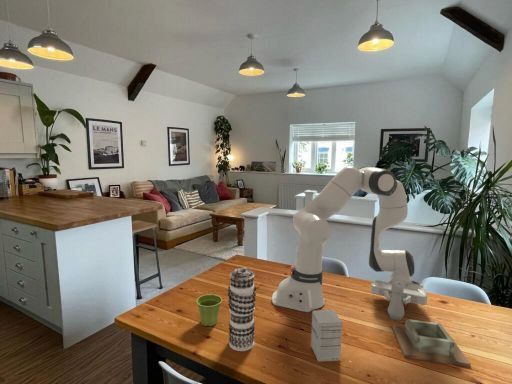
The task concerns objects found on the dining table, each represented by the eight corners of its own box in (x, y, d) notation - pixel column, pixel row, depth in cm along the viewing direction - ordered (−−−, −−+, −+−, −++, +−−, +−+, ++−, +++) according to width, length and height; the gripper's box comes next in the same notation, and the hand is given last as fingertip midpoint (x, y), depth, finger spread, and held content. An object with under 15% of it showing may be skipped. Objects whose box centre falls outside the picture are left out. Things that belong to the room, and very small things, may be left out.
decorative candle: (237, 331, 102) (238, 263, 99) (260, 339, 97) (261, 268, 94) (222, 345, 94) (221, 271, 91) (246, 355, 89) (246, 278, 86)
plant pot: (212, 312, 114) (212, 291, 113) (227, 322, 107) (227, 300, 106) (191, 321, 107) (191, 299, 107) (206, 332, 101) (206, 309, 100)
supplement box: (310, 346, 94) (311, 309, 92) (332, 345, 94) (334, 309, 93) (317, 362, 87) (318, 322, 85) (341, 361, 87) (342, 321, 86)
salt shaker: (405, 322, 108) (408, 289, 107) (389, 320, 110) (391, 288, 108) (401, 314, 114) (403, 283, 113) (385, 313, 115) (387, 281, 114)
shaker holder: (404, 357, 89) (405, 340, 89) (392, 328, 105) (393, 313, 104) (470, 367, 85) (472, 349, 85) (447, 335, 101) (448, 320, 100)
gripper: (373, 274, 127) (368, 286, 115) (427, 285, 117) (427, 299, 105) (373, 288, 128) (367, 301, 116) (426, 300, 117) (426, 315, 105)
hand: (396, 300), depth 110 cm, fingers open, 4 cm apart
